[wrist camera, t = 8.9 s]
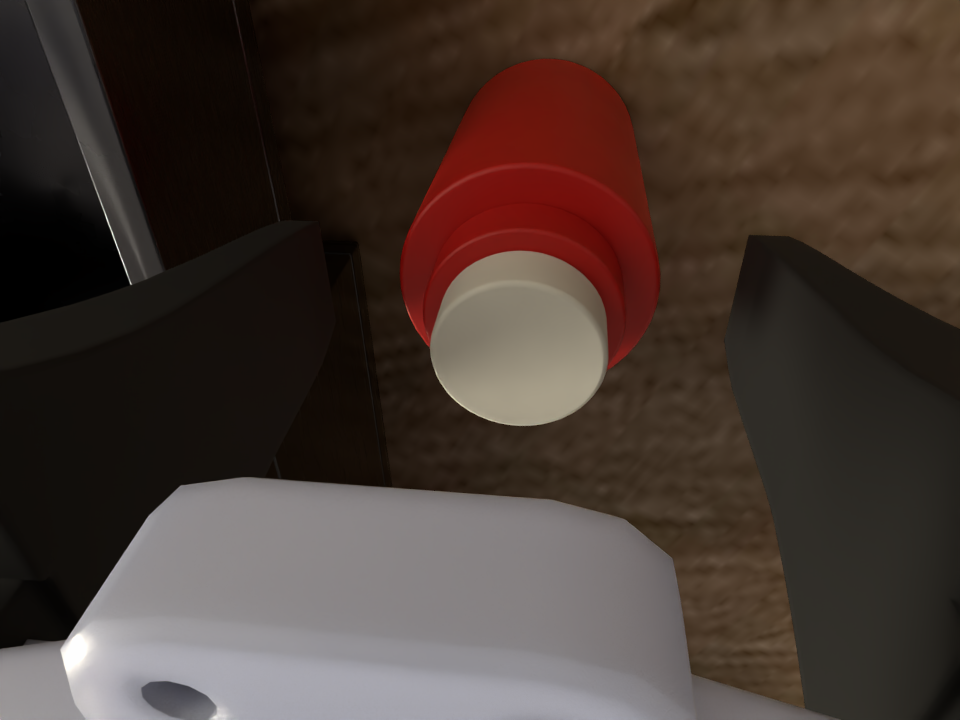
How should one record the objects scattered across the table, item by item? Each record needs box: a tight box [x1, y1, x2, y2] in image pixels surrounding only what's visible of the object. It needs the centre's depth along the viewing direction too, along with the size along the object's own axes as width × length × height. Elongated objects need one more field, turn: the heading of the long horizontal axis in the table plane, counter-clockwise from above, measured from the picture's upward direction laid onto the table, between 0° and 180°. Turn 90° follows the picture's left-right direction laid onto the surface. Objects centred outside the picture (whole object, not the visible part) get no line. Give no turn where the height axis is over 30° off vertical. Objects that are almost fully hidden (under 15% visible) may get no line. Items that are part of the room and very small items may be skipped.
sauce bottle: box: [400, 59, 660, 426], centre depth 13 cm, size 4×4×9 cm
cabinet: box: [265, 240, 392, 488], centre depth 21 cm, size 15×14×8 cm
